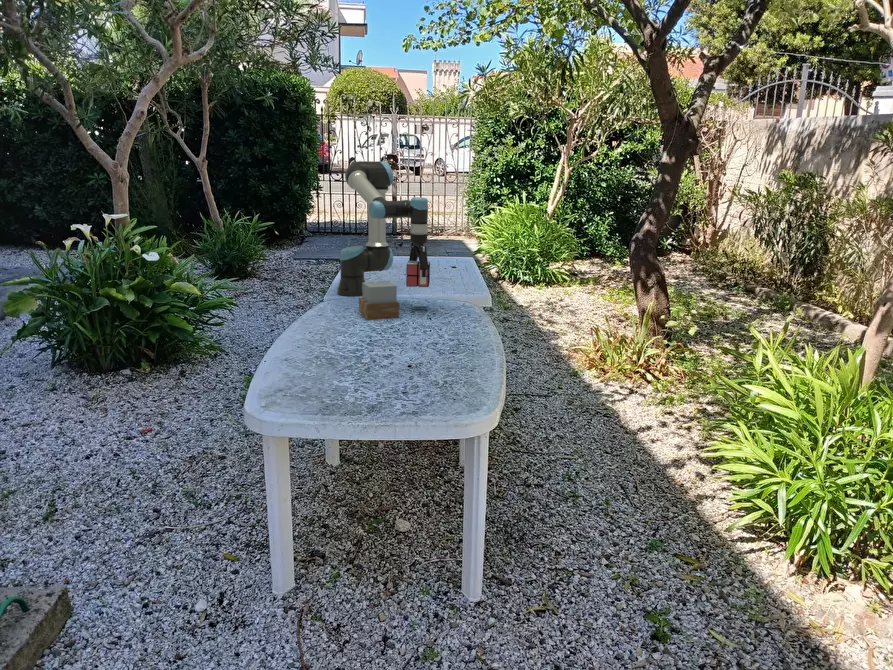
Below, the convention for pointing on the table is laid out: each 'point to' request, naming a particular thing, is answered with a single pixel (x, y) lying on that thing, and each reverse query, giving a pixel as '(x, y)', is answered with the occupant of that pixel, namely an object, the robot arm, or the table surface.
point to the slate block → (379, 292)
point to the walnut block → (378, 310)
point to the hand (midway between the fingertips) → (418, 281)
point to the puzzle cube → (416, 274)
